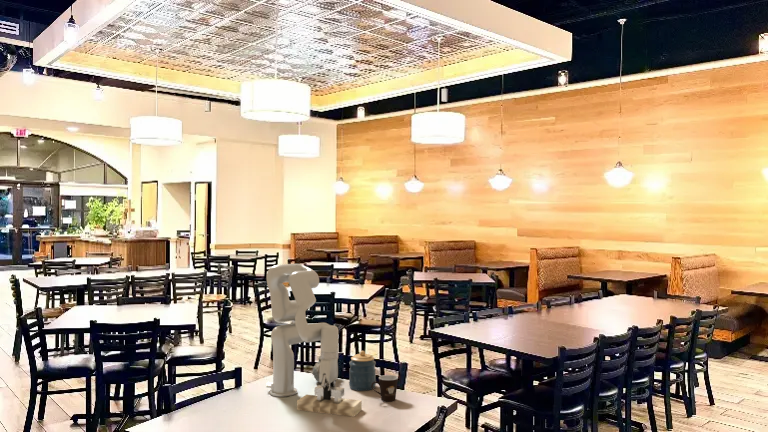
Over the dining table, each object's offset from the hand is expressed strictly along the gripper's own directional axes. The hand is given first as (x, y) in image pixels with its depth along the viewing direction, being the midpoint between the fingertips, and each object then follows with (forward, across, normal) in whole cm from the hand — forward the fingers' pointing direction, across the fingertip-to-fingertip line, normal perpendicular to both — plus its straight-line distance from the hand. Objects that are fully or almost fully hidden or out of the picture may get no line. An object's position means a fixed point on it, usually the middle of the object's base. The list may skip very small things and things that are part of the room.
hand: (329, 397), depth 248 cm
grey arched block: (+4, 0, 0) cm, 4 cm away
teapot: (+5, -39, -20) cm, 44 cm away
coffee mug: (+5, -21, +18) cm, 28 cm away
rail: (+5, 0, 0) cm, 5 cm away
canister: (+5, -36, +2) cm, 36 cm away
